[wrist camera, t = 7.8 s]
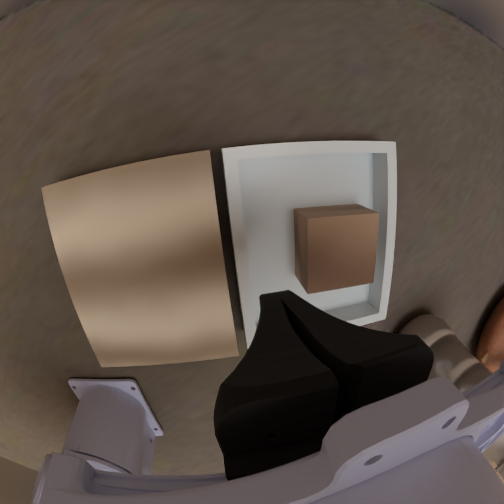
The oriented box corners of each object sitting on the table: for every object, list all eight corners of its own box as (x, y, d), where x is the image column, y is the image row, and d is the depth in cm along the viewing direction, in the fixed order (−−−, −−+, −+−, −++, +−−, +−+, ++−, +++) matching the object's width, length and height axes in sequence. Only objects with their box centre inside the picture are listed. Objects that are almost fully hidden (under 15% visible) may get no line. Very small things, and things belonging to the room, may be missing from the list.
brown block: (307, 294, 18) (295, 275, 21) (373, 282, 19) (355, 266, 22) (307, 218, 16) (293, 208, 19) (379, 212, 17) (357, 203, 20)
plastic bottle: (375, 342, 25) (486, 498, 7) (422, 294, 24) (559, 424, 6) (398, 365, 28) (490, 492, 9) (440, 323, 26) (548, 435, 8)
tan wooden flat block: (235, 332, 22) (239, 355, 20) (110, 344, 21) (101, 367, 19) (210, 150, 18) (209, 149, 15) (62, 181, 17) (41, 187, 14)
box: (372, 305, 24) (385, 318, 21) (243, 330, 23) (247, 349, 20) (377, 141, 19) (395, 141, 16) (220, 149, 18) (221, 148, 15)
